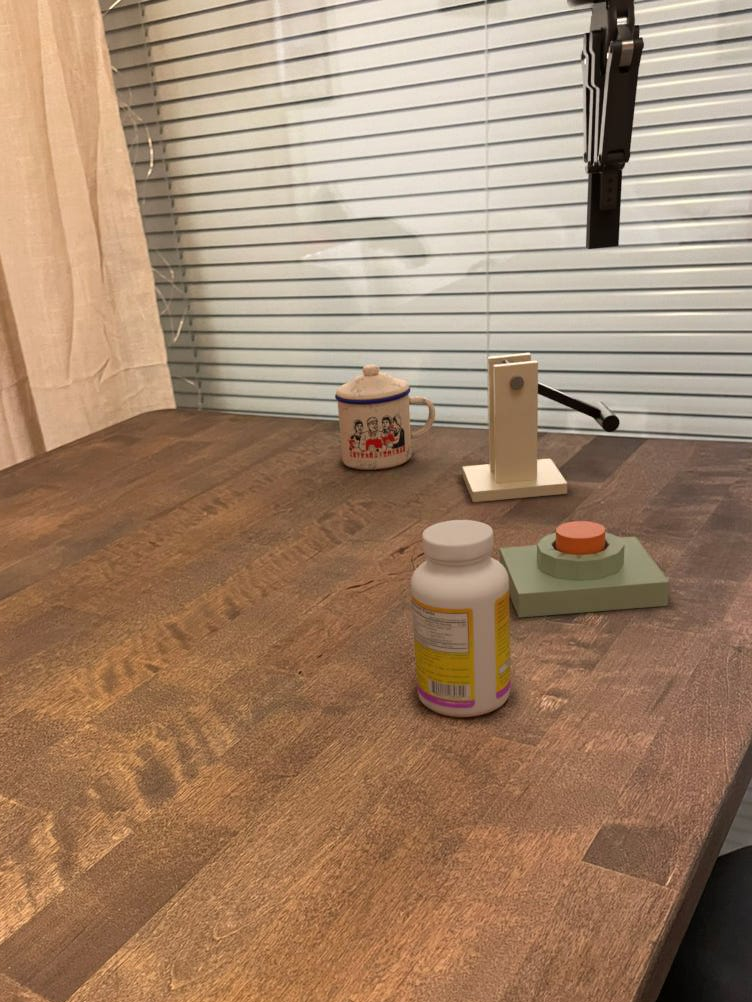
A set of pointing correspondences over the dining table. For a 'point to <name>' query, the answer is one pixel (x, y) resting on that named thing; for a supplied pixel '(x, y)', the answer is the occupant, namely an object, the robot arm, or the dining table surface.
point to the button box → (583, 578)
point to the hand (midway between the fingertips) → (602, 246)
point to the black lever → (581, 406)
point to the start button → (580, 538)
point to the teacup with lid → (377, 420)
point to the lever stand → (513, 437)
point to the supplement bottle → (461, 621)
